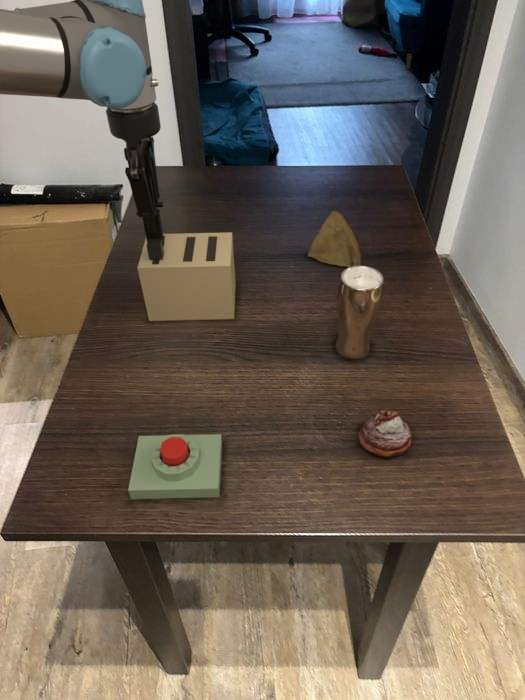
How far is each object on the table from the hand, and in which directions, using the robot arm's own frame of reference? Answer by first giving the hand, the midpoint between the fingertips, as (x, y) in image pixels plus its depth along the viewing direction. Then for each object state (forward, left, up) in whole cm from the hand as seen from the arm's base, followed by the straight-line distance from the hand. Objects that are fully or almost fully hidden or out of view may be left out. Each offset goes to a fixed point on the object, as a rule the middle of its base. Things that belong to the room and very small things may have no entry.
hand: (156, 244), depth 93 cm
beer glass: (+34, -13, -14) cm, 39 cm away
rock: (+34, +14, -14) cm, 39 cm away
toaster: (+5, +1, -14) cm, 14 cm away
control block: (+6, -38, -14) cm, 41 cm away
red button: (+6, -38, -10) cm, 39 cm away
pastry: (+36, -33, -14) cm, 51 cm away
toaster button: (0, -2, -1) cm, 2 cm away
